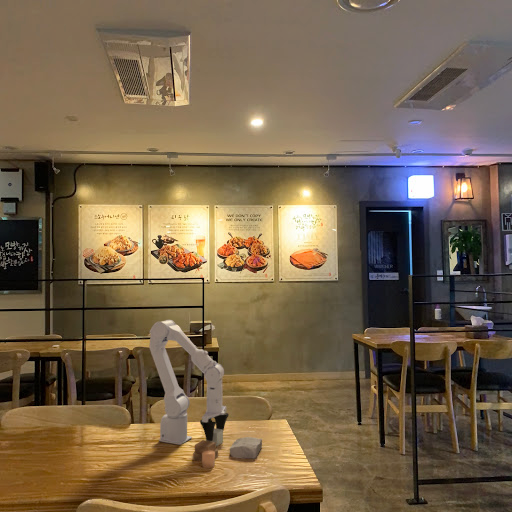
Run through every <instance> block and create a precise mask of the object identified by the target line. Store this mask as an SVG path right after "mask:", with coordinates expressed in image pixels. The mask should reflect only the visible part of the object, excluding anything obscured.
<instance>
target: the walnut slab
mask: <svg viewBox="0 0 512 512" xmlns="http://www.w3.org/2000/svg"><path fill="white" fill-rule="evenodd" d="M214 452H215V459H216V458H217V457H219V449H216V450H215V451H214ZM192 460H193V461H197V462H202V454H199V453H195V451H194V452H192Z"/></svg>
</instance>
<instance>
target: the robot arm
mask: <svg viewBox="0 0 512 512" xmlns="http://www.w3.org/2000/svg"><path fill="white" fill-rule="evenodd" d="M149 334H150V339H149V347H148V348H149V351H150V354H151V356H152V359H153V362H154V364H155V368H156V370H157V373H158V376H159V378H160V379H159V380H160V382H161V385H162V387H163V390H164V397H163V402H164V412H165V414H164V415H163V416H161V419H160V423H159V424H160V427H159V429H160V430H159V431H160V433H159V435H160V436H159V437H160V438H159V439H158V442H160V443H161V442H162V443H167V444H172V445H178V446H179V445H183V444H184V443H186V442H187V441H189V440H192V438H193V437H192V436H190V435H188V409H189V407H190V405H191V404H190V403H191V402H190V398H189V397H188V396H187V395H186V393H185V391H184V389H182V388H181V387H180V386H179V384H178V383H179V382H178V380H177V377H176V375H175V372H174V371H175V370H174V369H173V367H172V366H173V365H172V363H171V361H170V357H169V354H168V352H167V349H166V346H167V344H168V342H169V341H173V342H174V341H175V343H177V344H178V345H179V346H180V347H181V348H182V349H184V350H185V352H187V353H188V354H189V355H190V359H191V362H192V364H194V366H196V367H197V368H198V370H199V371H201V372H202V373H203V376H204V377H203V378H204V379H205V381H206V411H205V413H204V414H203V415H202V416H201V419H200V421H199V422H200V425H201V427H202V429H203V431H204V436H205V441H206V440H207V441H212V440H213V432H214V428H215V429H222V430H223V432H224V430H225V426H226V423H227V420H228V417H229V414H230V413H229V412H227V406H226V405H223V401H224V400H223V395H224V394H223V377H224V375H225V369H224V367H223V365H222V364H220V363H218V362H217V361H216V360H213V358H211V356H209V352H208V351H207V350H204V349H200V348H197V346H196V345H195V344H194V343H193V342H192V341H191V339H190V338H189V337H188V336H187V335H186V334H185V333H184V331H183V330H182V328H181V327H180V326H179V325H178V324H176V322H175V321H174V320H172V319H165V320H162V321H156V322H155V323H154V324H153V325H152V326H151V328H150V330H149ZM212 419H214V420H212Z"/></svg>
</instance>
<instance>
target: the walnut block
mask: <svg viewBox="0 0 512 512" xmlns="http://www.w3.org/2000/svg"><path fill="white" fill-rule="evenodd" d="M216 447H217V446H216V442H211V441H206V439H205V440H204V439H202V440H200V441H199V442H197V443H195V444H194V452H195V453H199V454H202V452H204V451H208V450H211V451H215V450H216Z"/></svg>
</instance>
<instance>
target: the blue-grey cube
mask: <svg viewBox="0 0 512 512" xmlns="http://www.w3.org/2000/svg"><path fill="white" fill-rule="evenodd" d="M205 441H207V440H206V439H205ZM211 442H216V447H218V446H219V445H221V444H222V443H223V442H224V431H223V430H222V429H216V427H214V432H213V440H212V441H211Z"/></svg>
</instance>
